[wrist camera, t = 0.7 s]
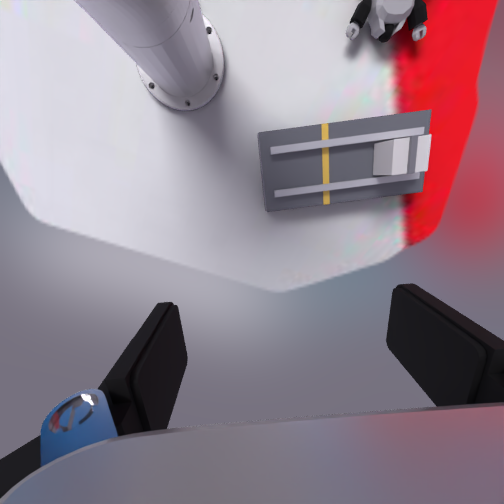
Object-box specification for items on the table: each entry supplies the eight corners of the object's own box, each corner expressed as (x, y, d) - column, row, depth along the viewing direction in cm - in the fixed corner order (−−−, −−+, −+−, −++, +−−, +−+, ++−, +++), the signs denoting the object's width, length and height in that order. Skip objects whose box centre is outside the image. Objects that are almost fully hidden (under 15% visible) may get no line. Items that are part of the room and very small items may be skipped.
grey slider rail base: (257, 135, 38) (258, 131, 34) (417, 114, 38) (436, 107, 34) (265, 209, 42) (267, 212, 38) (410, 190, 41) (426, 192, 38)
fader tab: (374, 143, 36) (396, 138, 31) (406, 138, 36) (434, 132, 31) (372, 175, 37) (393, 176, 32) (404, 171, 37) (430, 171, 32)
